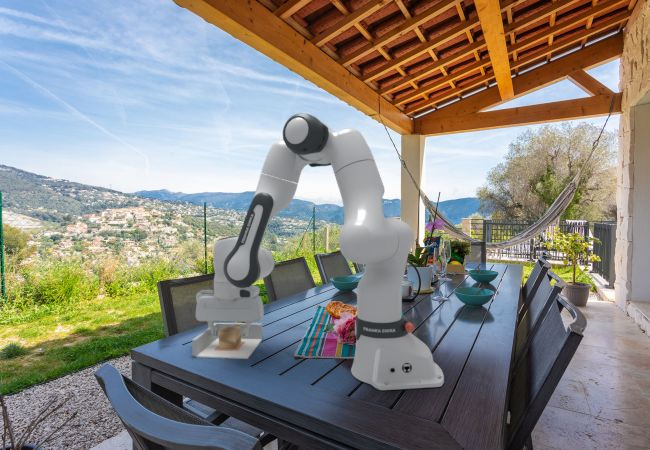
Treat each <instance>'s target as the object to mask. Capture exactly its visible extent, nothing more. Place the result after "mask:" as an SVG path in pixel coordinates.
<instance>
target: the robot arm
mask: <svg viewBox="0 0 650 450" xmlns="http://www.w3.org/2000/svg"><path fill="white" fill-rule="evenodd" d="M265 157H266V158H265V159H264V162H263V166H262V169H261V171H260V175H259V180H258V183H257V186H256V189H255V192H254V196H253V197H252V200H251V203H250V204H249V207H248V209H247V211H246V215H245V218H244V220H243V223H242V225H241V226H242V227H241V229H240V232H239V234H238V235H232V236H227V237H222V238H219V239H217V240H216V241H215V244H214V247H213V263H212V264H213V270H214V277H213V289H201V290H199V291H198V292H196V294H195V301H196V308H195V318H196V320H197V321H198V322H207V326H208V327H209V328H210V329H211V331H212V336H217V335H218V329H216V328H215V326H214V323H216V322H224V323H237V322H245V323H246V325H247V327H246V329H243V330H242V336H248V334H249V328H250V326H251V324H252V323H259V322H260V321H262V319H263V318H264V316H265V315H264V312H265V311H264V303H263V299H262V296H260V295H259V294H260V290H261V289H260V287H259V286H257V285H254V284H255V283H256V282H259V281H261V280H262V279H264V278H266V277H268V276H269V275H270V274H272V272H273V271H274V268H275V267H276V266H275V265H276V264H275V263H276V261H275V260H276V259H275V256H274V254H273V253H272V252H271V250H269V249H267V248H265V247H262V243H263V241H264V237H265V235H266V232H267V229H268V226H269V224H270V222H271V220H273V218H274V217H275V216H276V215H277V214H279V213H280V212H281V211H283V210H284V209H286V208H287V207H289V206H290V204H291V202H292V200H293V198H294V196H295V194H296V192H297V188H298V184H299V181H300V178H301V174H302V172H303V169H304V168H305V167H306V166H310V167H311V168H315V167H328V166H331V167H332V170H333V174H334V177H335V179H336V184H337V187H338V189H339V192H340V197H341V200H342V205H343V213H344V214H343V220H344V221H343V227H342V228H341V230H340V233H339V236H338V247H339V251H340V253H341V255H342V256H343V257H344V258H345V259H346V260H347V261H348V262H351V263H354V264H360V265H365V268H364V271H363V274H362V277H361V278H360V279H359V281H358V282H357V283H358V284H357V288H356V292H357V293H356V304H357V305H356V308H357V309H356V311H357V312H356V313H357V314H356V315H355V320H354V335H355V340H356V343H355V353H354V358H353V362H352V365H351V369H350V372H351V374H352V376H353V377H354V378H355V379H357V380H358V381H360V382H363V383H366V384H369V385H370V386H371V387H372V386H373V387H374V388H375V389H376V390H379V391H391V390H392V391H393V390H407V389H408V390H411V389H423V388H424V389H425V388H439V387H443V384H444V383H445V376H444V372H443V370H442V369H441V367H440V366H439V365H438V364H437V363H436V362H434V357H433V353H432V352H431V350H430V348H429V347H428V346H427V344H425V343H424V342H423V341H422V340H420V339H419V337H417V336H415V335H414V334H413V332H414V331H415V326H414V324H413V323H412V322H411V321H410V319H408V318H407V317H406V316H402V314H403V313H402V310H403V309H402V308H403V307H402V305H403V304H402V303H403V302H402V301H403V298H402V297H403V284H404V283H403V282H404V277H405V272H406V266H407V261H408V258H409V253H410V251H411V249H412V248H413V245H414V242H415V234H414V231H413V228H412V227H411V226H410V225H409V224H408V223H407V222H405V221H403V220H400V219H399V218H395V217H386V216H385V215H384V209H383V197H384V194H385V186H384V183H383V180H382V178H381V175H380V171H379V170H378V169H379V168H378V166H377V163H376V160H375V158H374V155H373V153H372V151H371V149H370V147H369V145H368V142H367V141H366V139H365V137H364V136H363V134H362V133H361V132H360V131H359V130H358V129H355V128H345V129H340V130H338V131H334V130H333V128H331V127H330V126H329V125H328V124H327V123H325V122H324V121H322V120H320V119H319V118H318V117H316V116H314V115H312V114H308V113H302V112H300V113H296V114H293V115H292V116H290V117H289V118H288V119H287V121H286V122H285V123H284V126H283V129H282V139H279V140H276V141H275V142H273V144H272V145H271V147H270V148H269V150H268V153H267V155H266V156H265Z"/></svg>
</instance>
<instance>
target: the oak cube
mask: <svg viewBox="0 0 650 450" xmlns="http://www.w3.org/2000/svg"><path fill="white" fill-rule="evenodd" d="M240 343H241V327H231V326H225V327H224V328H223V329H221V330H220V331H219V348H224V349H236V348H237V347H238V345H239V344H240Z"/></svg>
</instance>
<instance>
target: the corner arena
mask: <svg viewBox="0 0 650 450" xmlns="http://www.w3.org/2000/svg"><path fill="white" fill-rule="evenodd" d="M213 324H214V326H215V328H216V329H218V335H217V336H212V331H211V329H210V328H209V326H208V327H207V328H205V330H203V331H202V332H200V333H199V334H198V335H197V336H195V337H194V338H193V339H191V346H192V347H191V348H192V351H191V352H192V354H191V355H192V356H191V357H192V358H204V359H205V358H208V359H209V358H212V359H235V360H237V359H240V360H242V359H244V360H248V359H249V358H250V356H252V354H253V353H254V352H255V350H256V348H257V347H258V346H259V345H260V344H261V342H262V341H263V339H264V324H263V323H259V322H252V324H251V326H250V328H249V334H248V336H242V330H243V329H246V327H247V325H246V323H237V322H215V323H213ZM225 326H231V327H241V343H240V344H239V345H238V347H237V348H236V349H224V348H219V331H220V330H221V329H223V328H224V327H225Z"/></svg>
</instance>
